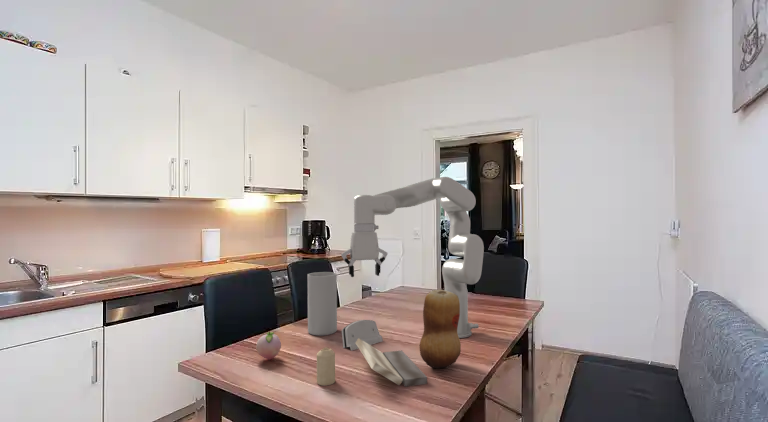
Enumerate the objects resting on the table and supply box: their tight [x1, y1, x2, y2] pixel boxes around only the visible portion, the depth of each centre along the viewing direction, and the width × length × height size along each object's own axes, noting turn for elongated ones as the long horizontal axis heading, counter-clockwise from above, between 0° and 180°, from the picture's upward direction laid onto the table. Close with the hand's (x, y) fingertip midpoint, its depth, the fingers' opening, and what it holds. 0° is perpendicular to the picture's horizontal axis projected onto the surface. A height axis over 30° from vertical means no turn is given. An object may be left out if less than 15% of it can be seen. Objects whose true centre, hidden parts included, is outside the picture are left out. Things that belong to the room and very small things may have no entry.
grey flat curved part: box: [341, 319, 384, 351], centre depth 154 cm, size 17×5×10 cm, turn 133°
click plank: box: [356, 338, 403, 386], centre depth 124 cm, size 10×24×2 cm
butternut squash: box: [419, 289, 462, 369], centre depth 129 cm, size 14×13×25 cm
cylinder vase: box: [307, 271, 338, 337], centre depth 170 cm, size 12×12×25 cm
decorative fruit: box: [255, 330, 282, 361], centre depth 137 cm, size 9×8×10 cm
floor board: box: [382, 349, 428, 387], centre depth 127 cm, size 7×24×2 cm, turn 16°
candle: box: [316, 346, 336, 387], centre depth 118 cm, size 6×6×10 cm
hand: (364, 275), depth 142 cm, fingers open, 9 cm apart
